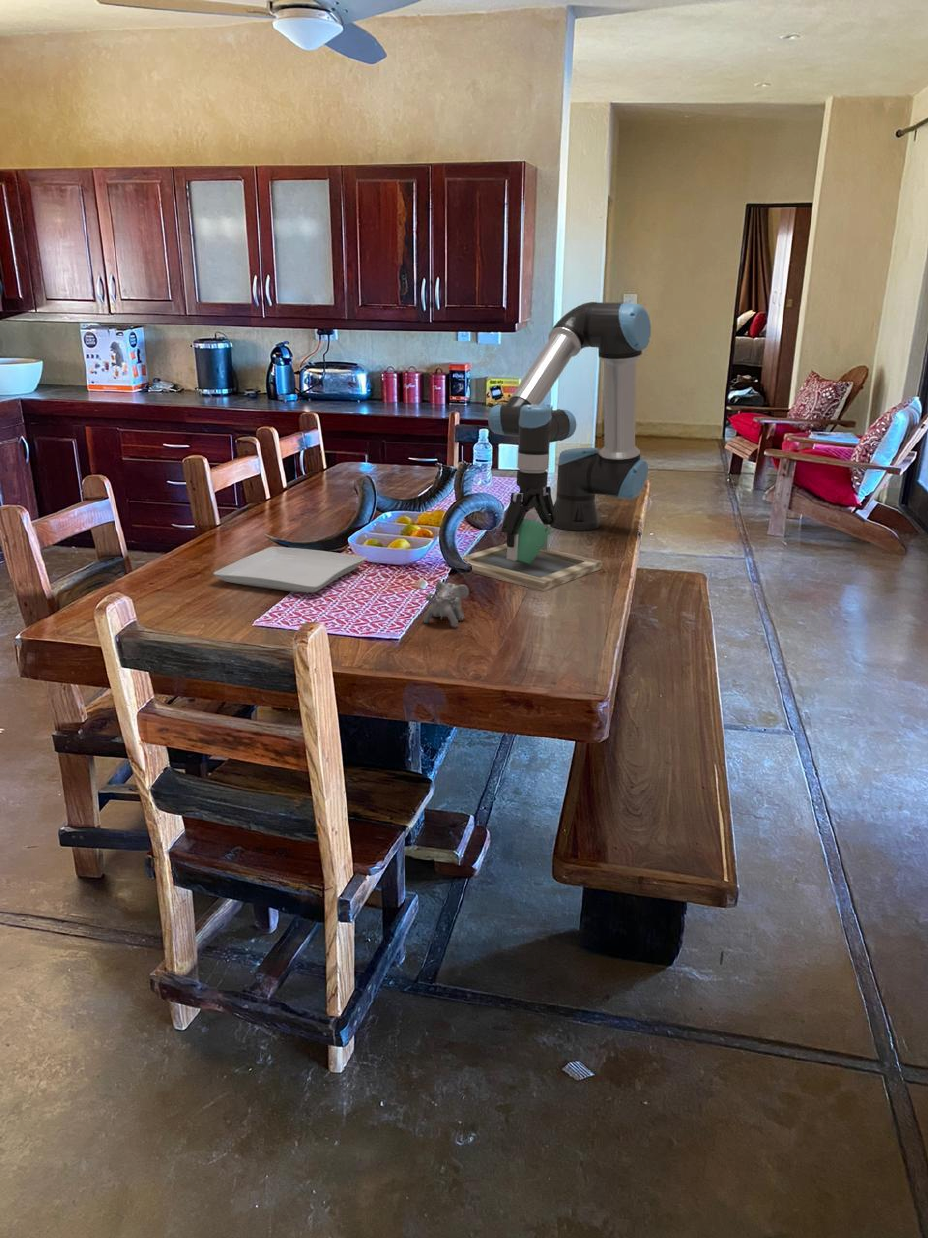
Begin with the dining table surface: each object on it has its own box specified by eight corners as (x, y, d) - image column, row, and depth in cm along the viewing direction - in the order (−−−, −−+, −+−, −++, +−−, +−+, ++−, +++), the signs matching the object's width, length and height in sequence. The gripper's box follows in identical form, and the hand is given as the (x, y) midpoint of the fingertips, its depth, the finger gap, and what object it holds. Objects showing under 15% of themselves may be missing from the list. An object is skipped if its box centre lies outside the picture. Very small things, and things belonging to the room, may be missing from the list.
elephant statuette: (422, 628, 184) (422, 594, 181) (426, 606, 195) (426, 573, 192) (466, 631, 184) (468, 596, 181) (468, 609, 195) (469, 575, 192)
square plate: (368, 570, 223) (368, 554, 221) (316, 602, 198) (316, 585, 197) (272, 557, 231) (272, 543, 229) (211, 587, 206) (210, 571, 205)
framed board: (513, 548, 245) (513, 541, 244) (601, 568, 228) (602, 561, 227) (451, 567, 226) (452, 559, 225) (543, 591, 209) (543, 583, 208)
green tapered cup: (539, 564, 217) (550, 525, 217) (500, 554, 218) (511, 514, 218) (540, 571, 231) (551, 534, 232) (504, 561, 233) (515, 524, 233)
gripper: (548, 462, 230) (543, 542, 237) (488, 474, 212) (485, 560, 219) (573, 465, 225) (567, 547, 233) (514, 478, 207) (510, 567, 214)
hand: (528, 554), depth 226 cm, fingers closed on green tapered cup, 13 cm apart
